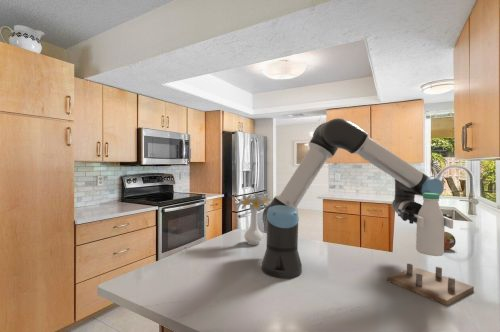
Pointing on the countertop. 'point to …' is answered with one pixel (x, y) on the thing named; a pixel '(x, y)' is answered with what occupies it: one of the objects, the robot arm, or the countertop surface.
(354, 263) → the countertop surface
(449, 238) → the tin
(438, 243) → the milk bottle
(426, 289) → the peg board
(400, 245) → the countertop surface
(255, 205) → the flower vase
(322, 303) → the countertop surface
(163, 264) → the countertop surface
